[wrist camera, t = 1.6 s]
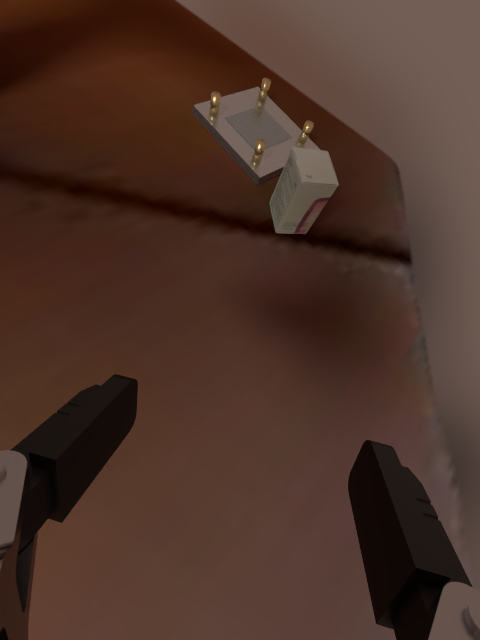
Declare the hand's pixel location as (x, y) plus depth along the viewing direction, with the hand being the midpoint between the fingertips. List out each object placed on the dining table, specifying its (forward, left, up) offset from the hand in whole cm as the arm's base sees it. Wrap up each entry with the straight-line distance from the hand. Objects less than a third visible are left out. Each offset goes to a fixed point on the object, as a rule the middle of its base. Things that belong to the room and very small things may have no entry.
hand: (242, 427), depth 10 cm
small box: (-13, +24, -16) cm, 31 cm away
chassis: (-26, +30, -16) cm, 42 cm away
